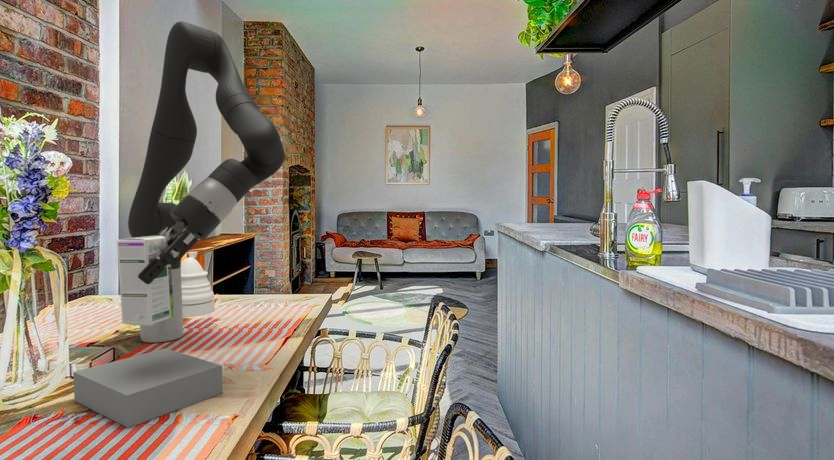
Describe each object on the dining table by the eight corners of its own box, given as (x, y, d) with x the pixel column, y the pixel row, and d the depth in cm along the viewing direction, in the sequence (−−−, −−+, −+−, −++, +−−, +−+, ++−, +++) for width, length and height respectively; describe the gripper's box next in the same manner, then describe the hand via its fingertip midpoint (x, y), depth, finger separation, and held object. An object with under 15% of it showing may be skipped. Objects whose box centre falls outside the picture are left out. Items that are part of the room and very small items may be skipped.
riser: (74, 400, 84) (73, 371, 84) (166, 373, 98) (165, 348, 97) (128, 428, 74) (126, 395, 74) (222, 393, 88) (221, 365, 87)
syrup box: (151, 326, 82) (147, 238, 81) (120, 324, 83) (116, 238, 82) (174, 317, 87) (171, 235, 86) (145, 316, 89) (141, 235, 88)
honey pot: (181, 307, 157) (179, 250, 155) (221, 307, 156) (220, 250, 155) (158, 317, 144) (156, 255, 143) (202, 317, 143) (200, 255, 142)
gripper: (177, 193, 94) (109, 260, 87) (202, 193, 83) (127, 268, 76) (207, 220, 98) (144, 286, 91) (234, 223, 87) (166, 297, 80)
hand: (136, 277), depth 84 cm, fingers closed on syrup box, 7 cm apart
